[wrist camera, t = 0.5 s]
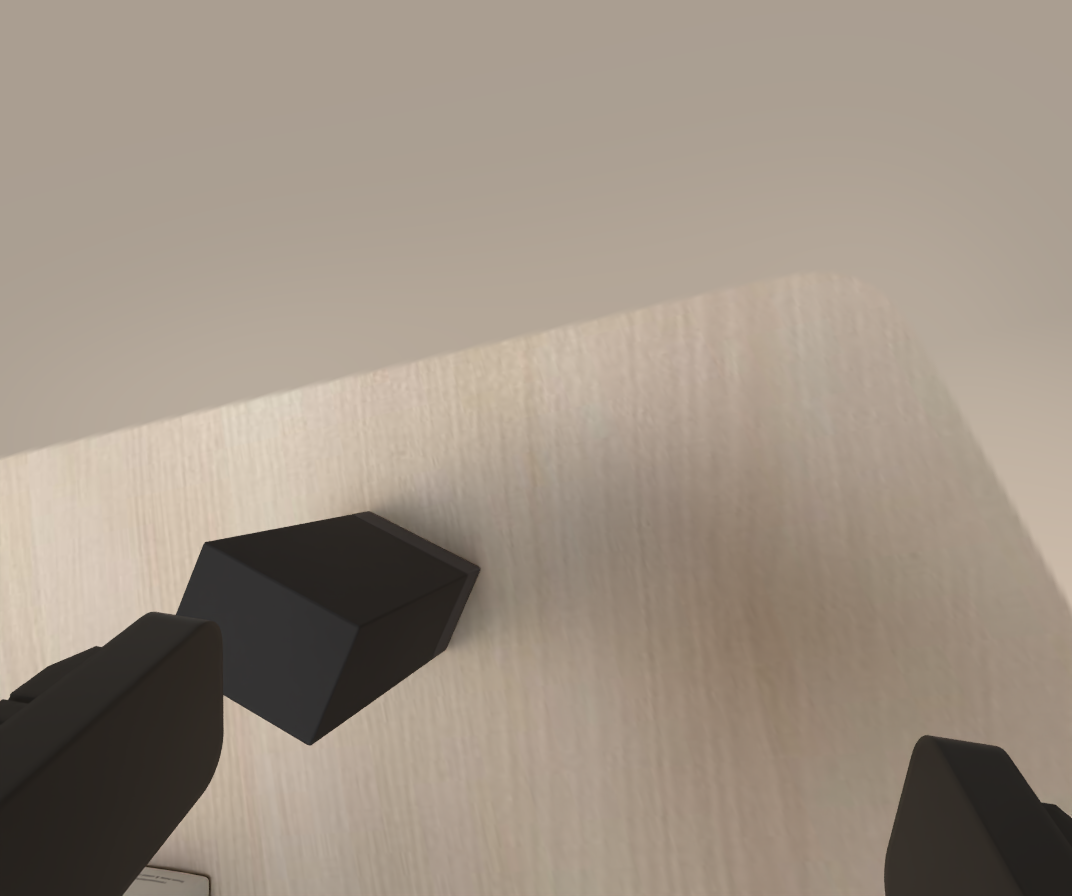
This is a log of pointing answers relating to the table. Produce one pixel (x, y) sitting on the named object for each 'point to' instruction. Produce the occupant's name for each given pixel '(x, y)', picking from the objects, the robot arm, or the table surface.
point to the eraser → (325, 615)
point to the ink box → (168, 884)
